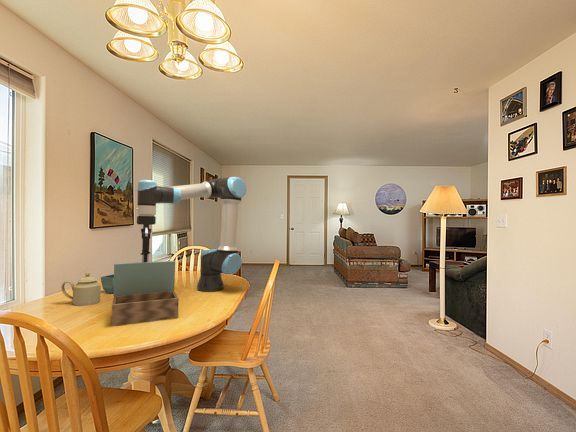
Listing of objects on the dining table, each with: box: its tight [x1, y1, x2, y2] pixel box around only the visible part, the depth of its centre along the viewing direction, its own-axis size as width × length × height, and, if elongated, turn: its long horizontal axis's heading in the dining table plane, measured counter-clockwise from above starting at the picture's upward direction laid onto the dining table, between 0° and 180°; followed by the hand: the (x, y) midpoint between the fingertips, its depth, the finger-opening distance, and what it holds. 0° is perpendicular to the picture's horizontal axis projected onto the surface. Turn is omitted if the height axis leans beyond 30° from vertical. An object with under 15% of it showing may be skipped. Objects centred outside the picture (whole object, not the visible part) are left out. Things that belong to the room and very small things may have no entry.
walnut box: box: [111, 290, 179, 327], centre depth 128 cm, size 24×14×8 cm, turn 117°
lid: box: [113, 260, 176, 297], centre depth 134 cm, size 24×14×1 cm
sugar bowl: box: [61, 270, 102, 307], centre depth 146 cm, size 15×11×15 cm
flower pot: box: [100, 273, 114, 294], centre depth 167 cm, size 9×9×9 cm
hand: (145, 269), depth 135 cm, fingers closed
